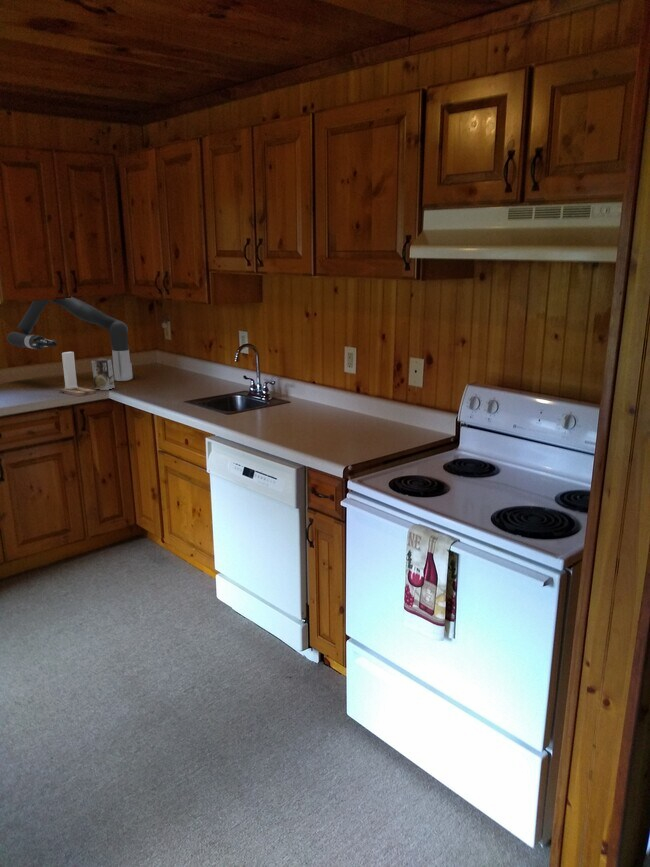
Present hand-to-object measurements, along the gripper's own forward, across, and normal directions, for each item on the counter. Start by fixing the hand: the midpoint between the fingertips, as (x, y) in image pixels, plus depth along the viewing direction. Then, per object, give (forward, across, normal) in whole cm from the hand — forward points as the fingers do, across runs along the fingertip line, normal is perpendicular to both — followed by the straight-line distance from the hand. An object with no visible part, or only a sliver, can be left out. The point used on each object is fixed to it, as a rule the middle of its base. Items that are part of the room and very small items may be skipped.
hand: (54, 344), depth 349 cm
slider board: (+16, 0, +24) cm, 29 cm away
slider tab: (+11, 0, +22) cm, 25 cm away
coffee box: (+20, +14, +24) cm, 34 cm away
